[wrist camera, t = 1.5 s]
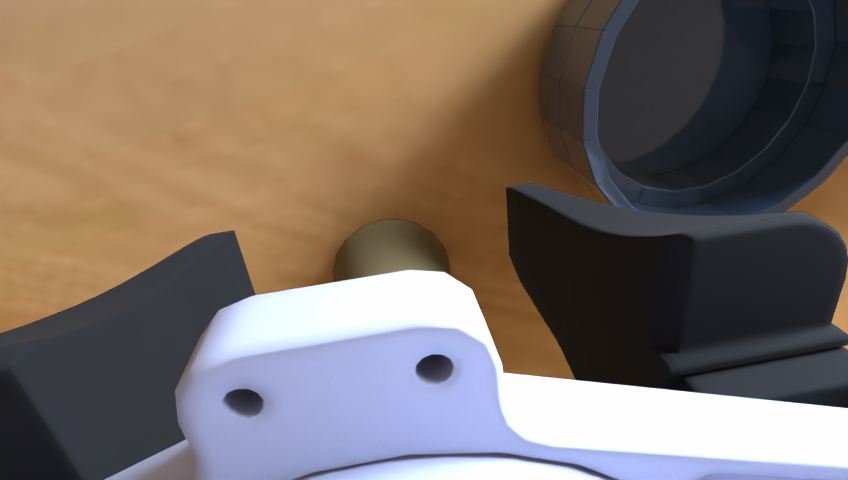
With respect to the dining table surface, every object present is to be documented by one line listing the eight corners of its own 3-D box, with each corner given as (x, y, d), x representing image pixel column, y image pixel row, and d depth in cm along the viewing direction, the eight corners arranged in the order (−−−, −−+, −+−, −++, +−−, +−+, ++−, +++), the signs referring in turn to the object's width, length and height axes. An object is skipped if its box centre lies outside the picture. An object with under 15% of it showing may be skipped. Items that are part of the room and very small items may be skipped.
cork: (351, 332, 27) (347, 526, 17) (317, 236, 24) (289, 400, 14) (458, 305, 27) (517, 482, 17) (437, 206, 24) (493, 349, 14)
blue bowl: (765, 177, 25) (852, 214, 21) (539, 214, 25) (579, 261, 20) (823, -103, 20) (958, -133, 15) (534, -64, 19) (587, -84, 15)
